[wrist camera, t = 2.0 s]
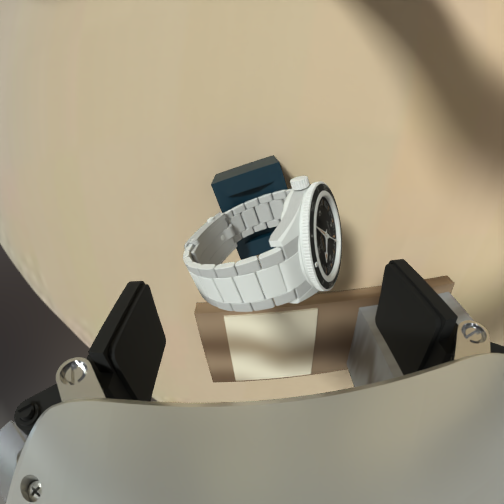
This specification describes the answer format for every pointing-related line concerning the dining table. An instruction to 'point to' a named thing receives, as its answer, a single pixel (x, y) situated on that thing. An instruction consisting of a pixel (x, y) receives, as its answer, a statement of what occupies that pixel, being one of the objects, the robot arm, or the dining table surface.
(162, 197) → the dining table surface
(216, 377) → the wood and grey tray
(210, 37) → the dining table surface
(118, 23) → the dining table surface
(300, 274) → the watch
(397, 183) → the dining table surface
